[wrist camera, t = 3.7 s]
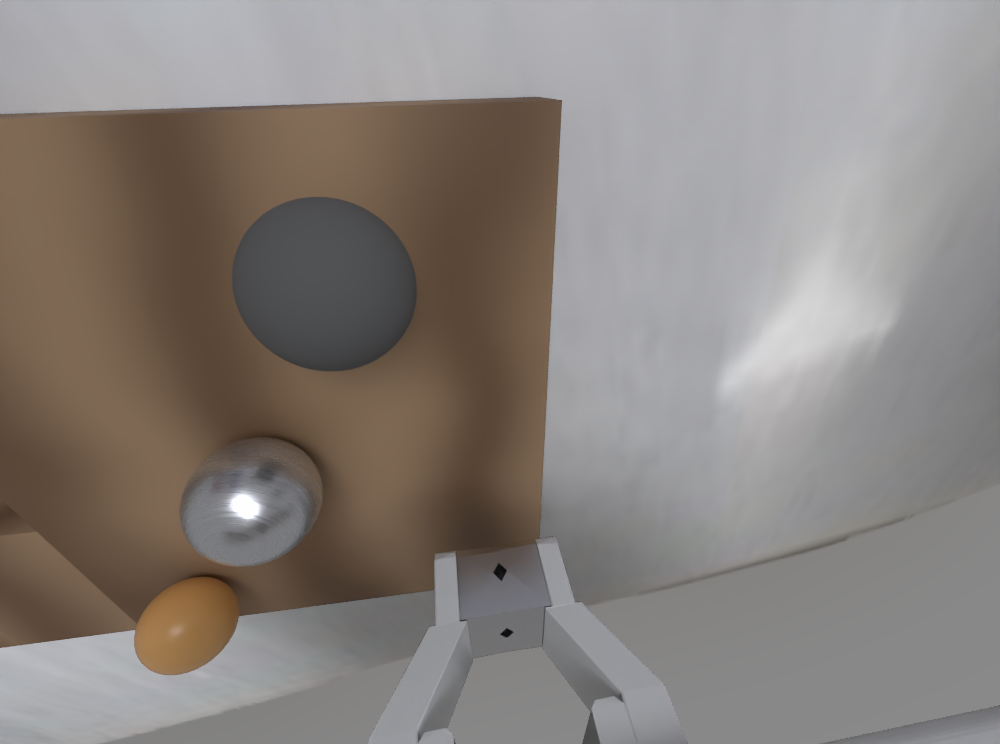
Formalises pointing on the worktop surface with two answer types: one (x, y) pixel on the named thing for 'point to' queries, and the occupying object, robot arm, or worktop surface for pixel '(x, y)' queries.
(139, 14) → the worktop surface
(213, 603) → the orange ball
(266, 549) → the steel ball
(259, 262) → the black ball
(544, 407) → the board
